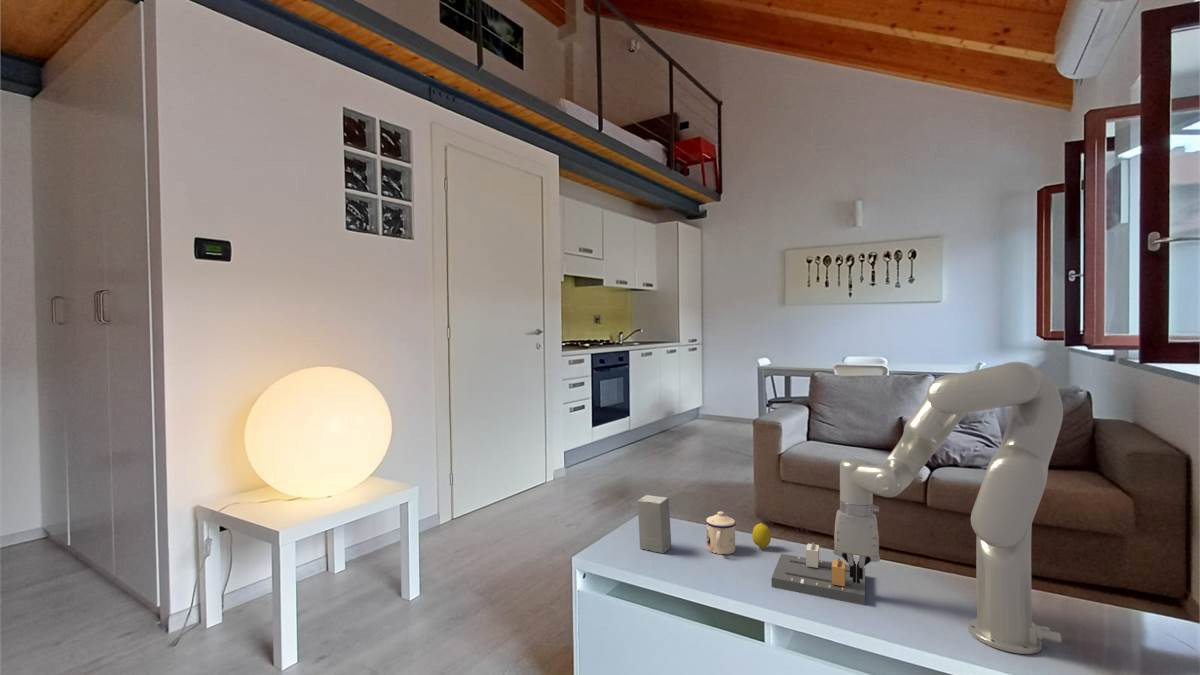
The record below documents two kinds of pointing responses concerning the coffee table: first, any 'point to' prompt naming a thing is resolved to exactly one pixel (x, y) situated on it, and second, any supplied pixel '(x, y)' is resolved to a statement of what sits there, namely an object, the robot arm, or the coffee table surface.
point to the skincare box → (654, 523)
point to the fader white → (812, 555)
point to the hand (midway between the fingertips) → (856, 580)
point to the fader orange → (838, 572)
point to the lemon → (761, 535)
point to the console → (816, 580)
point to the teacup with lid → (720, 534)
